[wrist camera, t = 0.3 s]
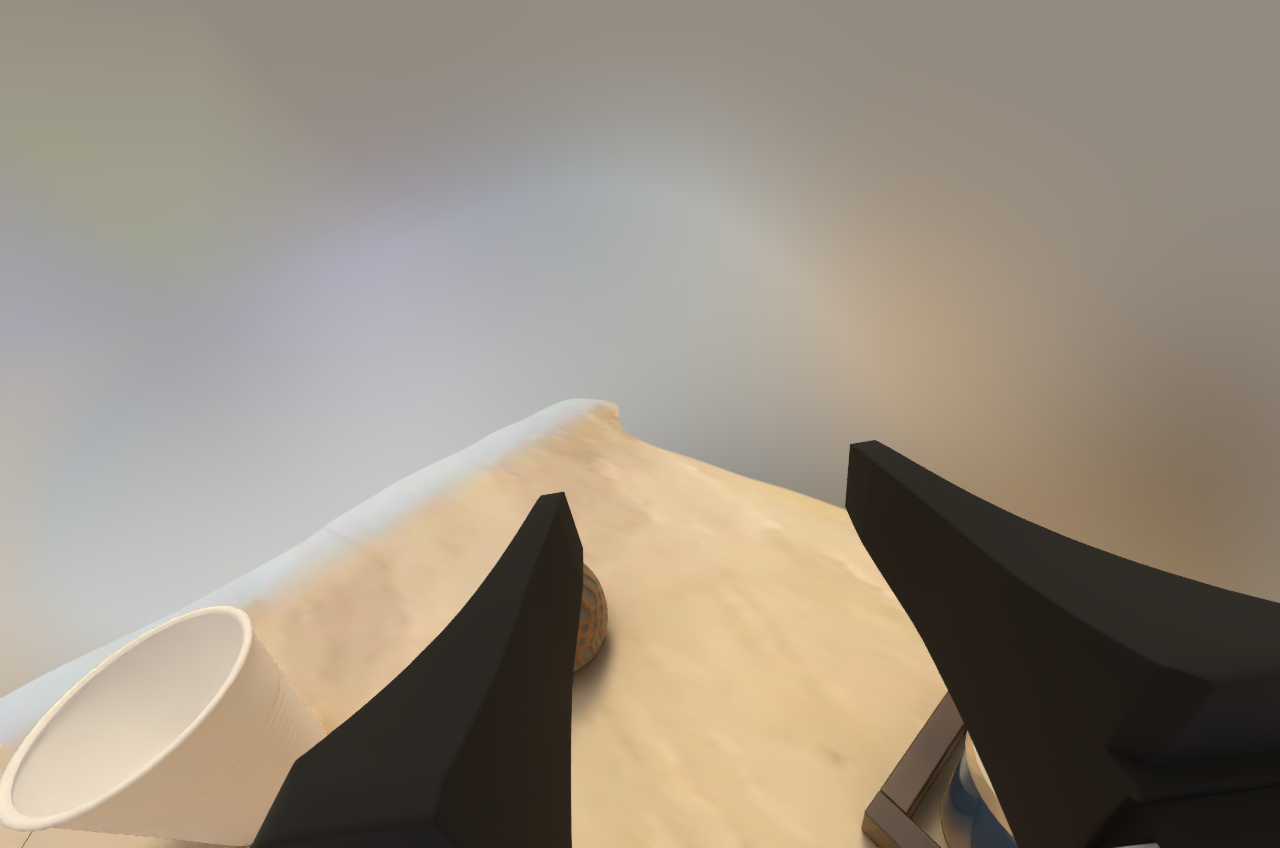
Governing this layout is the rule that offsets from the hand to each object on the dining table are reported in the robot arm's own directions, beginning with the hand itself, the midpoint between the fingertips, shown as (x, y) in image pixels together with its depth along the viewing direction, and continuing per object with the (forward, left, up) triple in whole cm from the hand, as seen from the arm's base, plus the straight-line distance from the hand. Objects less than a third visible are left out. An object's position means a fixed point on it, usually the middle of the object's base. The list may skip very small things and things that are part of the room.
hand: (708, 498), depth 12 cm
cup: (+5, +28, -21) cm, 35 cm away
